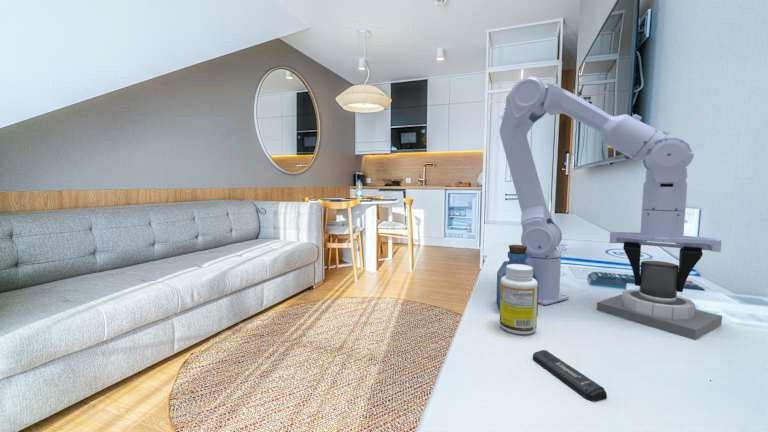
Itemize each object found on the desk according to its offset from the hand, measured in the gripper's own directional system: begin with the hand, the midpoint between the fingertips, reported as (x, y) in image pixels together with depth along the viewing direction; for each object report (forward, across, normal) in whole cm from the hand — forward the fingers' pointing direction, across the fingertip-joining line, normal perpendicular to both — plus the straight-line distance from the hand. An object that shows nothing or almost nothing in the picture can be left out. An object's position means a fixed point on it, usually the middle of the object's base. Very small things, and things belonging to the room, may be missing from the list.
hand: (657, 287), depth 58 cm
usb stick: (+6, -9, -30) cm, 32 cm away
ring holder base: (+5, 0, 0) cm, 5 cm away
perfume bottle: (+6, -21, -11) cm, 24 cm away
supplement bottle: (+6, -18, -20) cm, 27 cm away
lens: (+2, 0, 0) cm, 2 cm away
